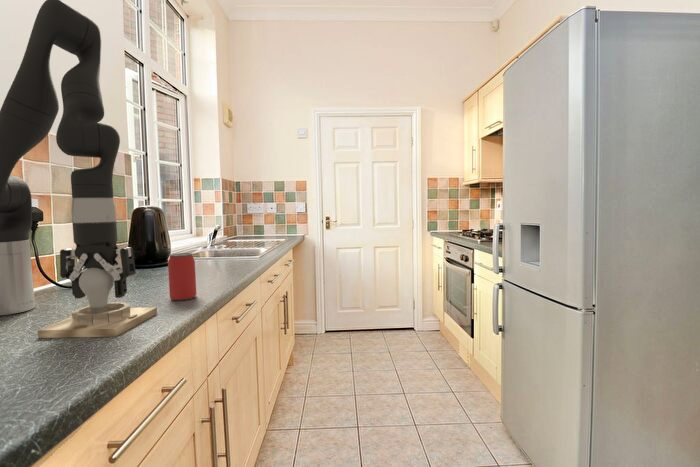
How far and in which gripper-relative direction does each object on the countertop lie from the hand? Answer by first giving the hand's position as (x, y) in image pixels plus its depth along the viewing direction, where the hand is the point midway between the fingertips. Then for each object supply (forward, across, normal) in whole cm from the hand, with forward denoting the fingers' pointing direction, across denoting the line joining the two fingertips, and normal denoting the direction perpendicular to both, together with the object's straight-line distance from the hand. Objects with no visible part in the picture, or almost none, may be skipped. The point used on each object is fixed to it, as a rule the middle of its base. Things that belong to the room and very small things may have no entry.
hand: (100, 297), depth 78 cm
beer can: (+6, -7, -22) cm, 24 cm away
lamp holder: (+6, 0, 0) cm, 6 cm away
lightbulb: (+5, 0, 0) cm, 5 cm away
